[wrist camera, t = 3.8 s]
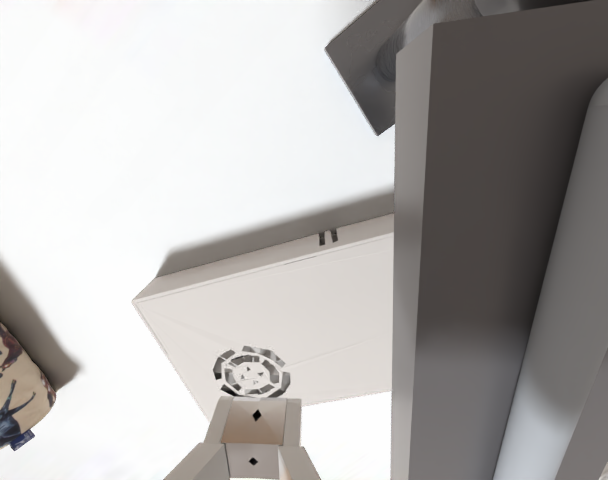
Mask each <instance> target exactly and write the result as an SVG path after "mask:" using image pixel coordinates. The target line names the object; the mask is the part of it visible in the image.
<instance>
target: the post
mask: <svg viewBox="0 0 608 480" xmlns="http://www.w3.org/2000/svg"><path fill="white" fill-rule="evenodd" d="M482 16H483V15H482V14H481V13H480V11H479V9H478V7H477V5H476V3H475V0H379V1H378V2H377V3H376V4H375V5H374V6H373V7H371V8H370V9H369V10H368V11H367V12H366V13H364V14H363V15H362V16H361V17H360V18H359V19H358V20H356V21H355V22H354V23H353V24H352V25H351V26H349V27H348V28H347V29H346V30H345V31H344V32H343V33H341V34H340V35H339V36H338V37H337V38H336V39H334V40H333V41H332V42H331V43H330V44H329V45H328V46H326V47H325V52H326V54H327V55H328V57H329V59H330V60H331V62H332V64H333V65H334V67H335V69H336V70H337V72H338V74H339V75H340V77H341V79H342V80H343V82H344V84H345V85H346V87H347V89H348V90H349V92H350V94H351V95H352V97H353V98H354V100H355V102H356V103H357V105H358V107H359V108H360V110H361V112H362V113H363V115H364V117H365V118H366V120H367V122H368V123H369V125H370V127H371V128H372V130H373V132H374V133H375V135H376V136H379V135H380V134H381V133H383V132H384V131H385V130H387V129H388V128H390V127H391V126H392V125H394V124H395V102H396V54H397V53H398V52H399V51H400V50H402V49H403V48H404V47H405V46H407V45H408V44H409V43H410V42H411V41H413V40H414V39H415V38H416V37H418V36H419V35H420V34H421V33H422V32H424V31H425V30H426V29H427V28H429V27H430V26H431V25H432V24H434V23H441V22H448V21H454V20H461V19H468V18H475V17H482Z"/></svg>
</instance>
